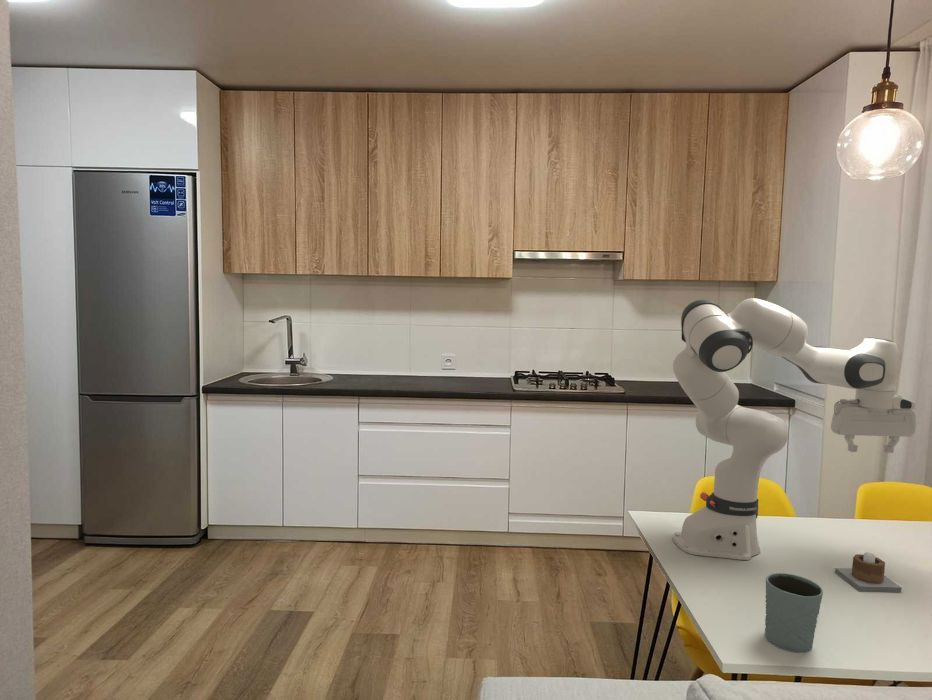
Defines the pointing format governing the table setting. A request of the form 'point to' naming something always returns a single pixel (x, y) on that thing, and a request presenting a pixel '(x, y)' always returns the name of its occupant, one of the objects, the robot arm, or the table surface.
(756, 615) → the table surface
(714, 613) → the table surface
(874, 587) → the shaft stand
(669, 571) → the table surface
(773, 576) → the grey blue cup
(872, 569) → the ring
